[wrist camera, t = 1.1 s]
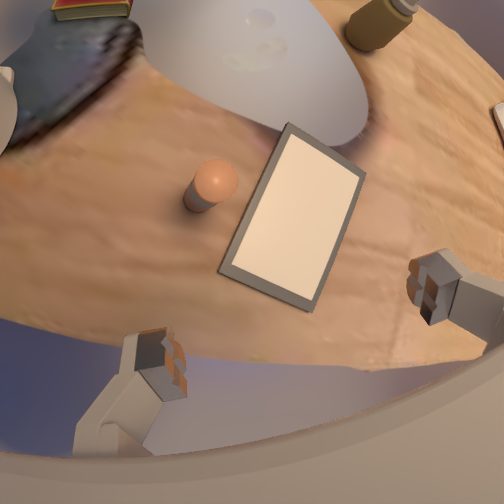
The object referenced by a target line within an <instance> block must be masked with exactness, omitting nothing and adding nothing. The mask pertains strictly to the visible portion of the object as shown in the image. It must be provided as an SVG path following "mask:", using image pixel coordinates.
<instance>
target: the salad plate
mask: <svg viewBox="0 0 504 504" xmlns="http://www.w3.org/2000/svg"><path fill="white" fill-rule="evenodd" d="M494 117H495V120H496V123H497V125H498V128H499V130H500V133H501V136H502V139H503V141H504V102H502V103H500V104H497V105H495V107H494Z"/></svg>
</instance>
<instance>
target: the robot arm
mask: <svg viewBox="0 0 504 504" xmlns="http://www.w3.org/2000/svg"><path fill="white" fill-rule="evenodd" d="M13 82H14V71H13V70H12V69H11V68H10V67H0V155H1V153H2V152H3V150H4V149H5V147H6V146H7V144H8V142H9V140H10V138H11V136H12V133H13V130H14V127H15V123H16V118H17V100H16V97H15V94H14V90H13ZM408 270H409V271H410V272H411V274H410V276H409V277H408V279H407V285H406V288H407V293H408V296H409V298H410V300H411V302H412V303H413V304H414V305H416V306H418V307H420V314H421V316H422V317H423V318H424V320H425V321H426V322H427V324H428V325H429V326H431V325H433V324H436V323H438V322H441V321H443V320H446V319H448V318H449V319H448V320H450V321H451V322H453V323H455V324H457V325H458V326H460V327H462V328H464V329H465V330H467V331H469V332H470V333H472V334H474V335H476V336H477V337H479V338H481V339H482V340H484V341H486V342H487V345H486V347H485V349H484V351H483V354H482V356H480V357H478V358H477V359H475V360H473V361H471V362H469V363H468V364H466V365H464V366H462V367H460V368H458V369H456V370H454V371H452V372H450V373H448V374H446V375H444V376H443V377H440V378H439V379H436V380H434V381H432V382H430V383H428V384H426V385H423V386H421V387H419V388H417V389H415V390H412V391H410V392H408V393H405V394H403V395H401V396H398V397H396V398H393V399H391V400H389V401H386V402H384V403H381V404H378V405H376V406H373V407H370V408H368V409H365V410H363V411H360V412H357V413H354V414H351V415H348V416H345V417H342V418H339V419H336V420H333V421H330V422H327V423H323V424H320V425H317V426H313V427H310V428H306V429H303V430H299V431H296V432H292V433H288V434H284V435H280V436H276V437H271V438H267V439H263V440H259V441H254V442H249V443H244V444H239V445H234V446H228V447H222V448H216V449H210V450H203V451H196V452H189V453H180V454H170V455H160V456H154V455H153V454H152V453H151V452H149V451H148V450H147V449H145V448H144V447H143V446H142V443H143V441H144V439H145V438H146V436H147V434H148V432H149V430H150V428H151V426H152V424H153V423H154V421H155V419H156V417H157V415H158V413H159V411H160V409H161V407H162V405H163V402H166V401H171V400H176V399H182V398H186V397H187V381H186V379H185V378H184V376H183V374H184V372H185V371H186V361H185V356H184V353H183V350H182V348H181V346H180V344H179V343H178V342H176V341H174V333H173V331H172V330H171V328H170V327H164V328H159V329H154V330H148V331H143V332H140V333H134V334H128V335H126V336H125V338H124V342H123V348H122V356H121V361H120V369H119V374H117V375H114V377H113V378H112V379H111V380H110V382H109V383H108V384H107V386H106V387H105V388H104V389H103V391H102V392H101V393H100V395H99V396H98V397H97V398H96V400H95V401H94V402H93V404H92V405H91V406H90V407H89V409H88V410H87V411H86V413H85V414H84V415H83V417H82V418H81V419H80V421H79V422H78V423H77V425H76V431H75V438H74V445H73V453H72V458H64V457H62V458H61V457H48V456H36V455H26V454H17V453H10V452H3V451H0V504H504V282H501V281H499V280H496V279H493V278H491V277H488V276H485V275H483V274H480V273H477V272H475V273H472V272H471V271H470V270H469V269H468V268H467V267H466V265H465V264H464V263H463V262H462V261H460V260H459V259H458V258H457V257H456V256H455V255H454V254H453V253H452V252H451V251H450V250H449V249H447V248H443V249H440V250H437V251H435V252H432V253H429V254H426V255H423V256H421V257H418V258H415V259H412V260H411V261H410V263H409V268H408Z"/></svg>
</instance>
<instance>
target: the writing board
mask: <svg viewBox="0 0 504 504" xmlns="http://www.w3.org/2000/svg"><path fill="white" fill-rule="evenodd" d="M365 176H366V172H364V171H363V170H362V169H360V168H359V167H357V166H356V165H355V164H353V163H352V162H350V161H349V160H347V159H346V158H344V157H343V156H341V155H340V154H338V153H337V152H335V151H334V150H332V149H331V148H329V147H328V146H326V145H325V144H323V143H321V142H320V141H319V140H317V139H315V138H314V137H312V136H311V135H309V134H308V133H306V132H304V131H302V130H301V129H299V128H298V127H296V126H295V125H293V124H291V123H290V122H288V123H287V124H285V127H284V129H283V131H282V133H281V135H280V137H279V139H278V141H277V143H276V145H275V147H274V149H273V152H272V154H271V156H270V158H269V160H268V162H267V164H266V166H265V168H264V171H263V173H262V175H261V177H260V179H259V181H258V183H257V186H256V188H255V190H254V192H253V194H252V196H251V198H250V201H249V203H248V205H247V207H246V209H245V211H244V214H243V216H242V218H241V220H240V222H239V224H238V227H237V229H236V231H235V233H234V235H233V238H232V240H231V242H230V244H229V246H228V249H227V251H226V253H225V255H224V257H223V260H222V262H221V264H220V266H219V269H218V272H220V273H222V274H224V275H226V276H229V277H231V278H233V279H235V280H237V281H240V282H242V283H244V284H246V285H249V286H251V287H253V288H255V289H258V290H260V291H262V292H264V293H267V294H269V295H271V296H274V297H276V298H278V299H280V300H283V301H285V302H287V303H290V304H292V305H294V306H297V307H299V308H301V309H304V310H306V311H308V312H311V313H313V310H314V308H315V306H316V303H317V301H318V299H319V296H320V294H321V292H322V289H323V287H324V284H325V282H326V280H327V277H328V275H329V272H330V270H331V267H332V265H333V262H334V260H335V257H336V255H337V252H338V250H339V247H340V245H341V242H342V239H343V237H344V234H345V232H346V229H347V226H348V224H349V221H350V218H351V215H352V213H353V210H354V207H355V205H356V202H357V199H358V196H359V193H360V190H361V188H362V185H363V182H364V179H365Z"/></svg>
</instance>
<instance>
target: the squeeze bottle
mask: <svg viewBox="0 0 504 504" xmlns="http://www.w3.org/2000/svg"><path fill="white" fill-rule="evenodd" d="M417 1H418V0H372V1H371V2H369V3H368V4H366V5H365V6H363V7H362V8H360V9H359V10H358V11H356V12H355V13H353V14H352V15H351V17H350V20H349V22H348V25H347V27H346V31H345V33H346V37H347V38H348V40H349V42H350V43H351V44H352V45H353V46H354V47H356V48H358V49H359V50H362V51H370V50H374V49H379V48H383V47H385V46H386V45H387V44H388V43H389V42H390V41H391V40H392V39H393V38H394V37H396V36H397V35H398V34H399V33H400V32H401V31H402V30H403V29H404V28H405V27H407V26H408V25H409V24H410V23H411V22H412V15H413V14H414V13H415V12H417V11H418V6H417V4H416V3H417Z"/></svg>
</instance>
